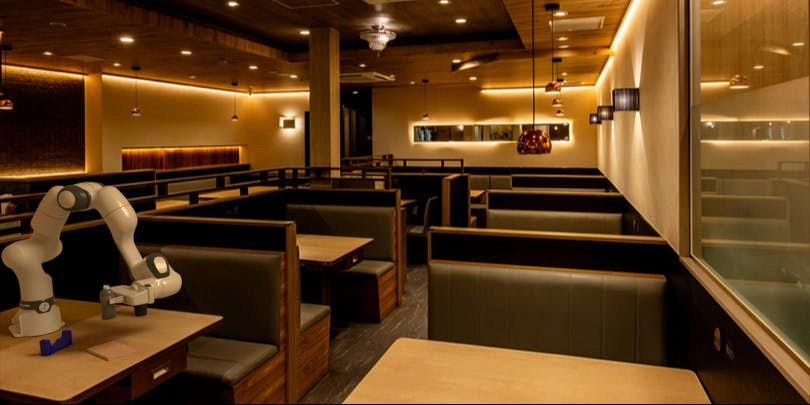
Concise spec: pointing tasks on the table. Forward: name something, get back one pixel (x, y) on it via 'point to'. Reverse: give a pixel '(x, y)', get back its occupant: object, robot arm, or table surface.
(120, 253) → the robot arm
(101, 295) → the charger plug
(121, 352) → the board
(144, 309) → the drinking cup
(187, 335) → the table surface
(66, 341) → the blue u-shaped bracket
